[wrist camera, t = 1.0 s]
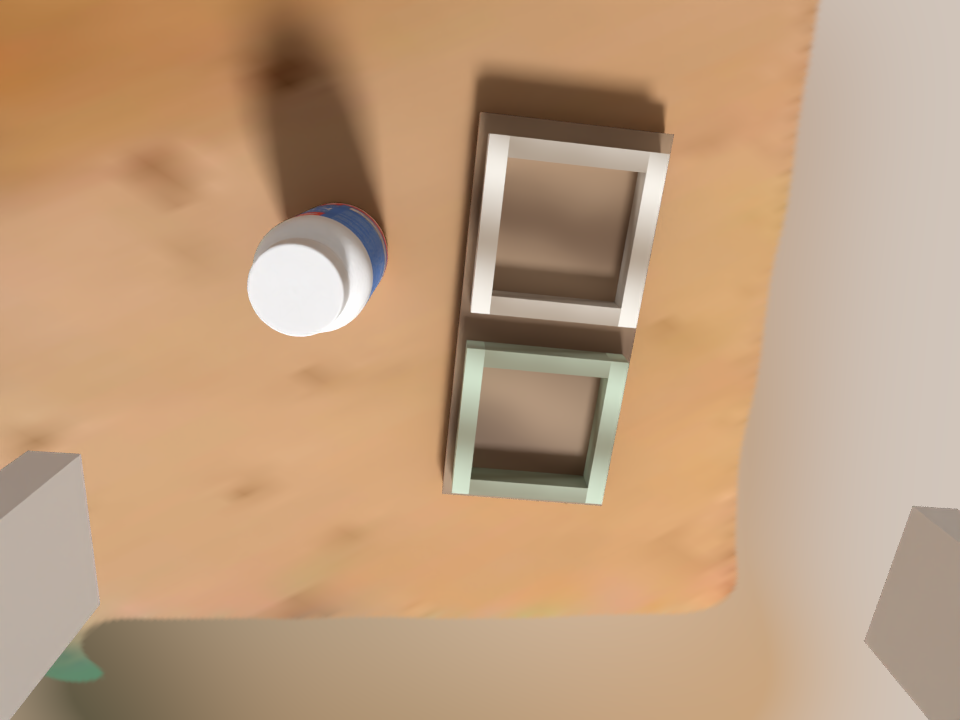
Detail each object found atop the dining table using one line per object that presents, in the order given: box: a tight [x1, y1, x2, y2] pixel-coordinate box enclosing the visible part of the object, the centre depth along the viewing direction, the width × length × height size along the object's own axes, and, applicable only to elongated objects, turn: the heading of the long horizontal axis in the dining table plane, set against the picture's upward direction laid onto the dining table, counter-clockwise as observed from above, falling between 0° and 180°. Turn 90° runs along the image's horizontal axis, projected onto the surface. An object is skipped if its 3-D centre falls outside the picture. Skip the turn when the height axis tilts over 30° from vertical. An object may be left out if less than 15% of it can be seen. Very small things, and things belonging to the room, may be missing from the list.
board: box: [442, 112, 674, 506], centre depth 35 cm, size 22×10×3 cm, turn 174°
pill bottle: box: [247, 203, 388, 336], centre depth 30 cm, size 6×5×10 cm
